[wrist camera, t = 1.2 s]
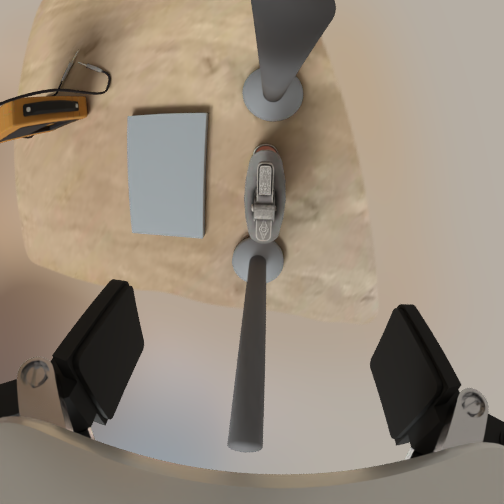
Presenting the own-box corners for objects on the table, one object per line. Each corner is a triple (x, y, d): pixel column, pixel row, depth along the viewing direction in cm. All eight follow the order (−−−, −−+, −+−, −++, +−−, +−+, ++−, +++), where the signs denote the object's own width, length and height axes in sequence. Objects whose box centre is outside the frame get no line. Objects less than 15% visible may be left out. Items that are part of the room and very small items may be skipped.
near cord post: (245, 65, 23) (186, -69, 3) (304, 71, 23) (401, -43, 3) (241, 118, 26) (158, 108, 6) (299, 124, 26) (404, 134, 6)
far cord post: (234, 233, 32) (187, 418, 11) (286, 238, 32) (308, 427, 11) (232, 277, 35) (197, 456, 14) (279, 281, 35) (287, 463, 14)
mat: (131, 116, 26) (127, 116, 25) (208, 113, 26) (206, 113, 25) (135, 229, 32) (132, 232, 31) (204, 235, 32) (202, 238, 31)
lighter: (279, 216, 31) (284, 257, 22) (249, 215, 31) (241, 256, 22) (282, 144, 27) (290, 154, 18) (250, 143, 27) (242, 153, 18)
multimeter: (110, 36, 21) (-16, 1, 3) (114, 108, 26) (-30, 124, 8) (31, 77, 22) (-80, 90, 5) (34, 139, 27) (-78, 179, 9)
